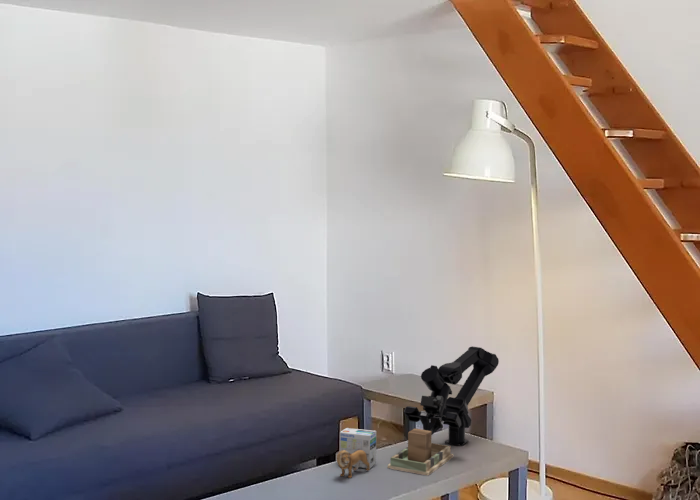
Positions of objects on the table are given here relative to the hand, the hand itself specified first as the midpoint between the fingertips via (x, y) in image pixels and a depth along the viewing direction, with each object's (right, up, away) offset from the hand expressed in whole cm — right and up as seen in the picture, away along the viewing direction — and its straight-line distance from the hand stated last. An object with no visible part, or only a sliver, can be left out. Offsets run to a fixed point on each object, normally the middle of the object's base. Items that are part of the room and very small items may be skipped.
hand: (425, 439), depth 273 cm
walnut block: (-2, -6, -3) cm, 7 cm away
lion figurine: (-23, -8, -14) cm, 28 cm away
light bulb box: (-22, -7, -5) cm, 24 cm away
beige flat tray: (-1, -7, -2) cm, 7 cm away
